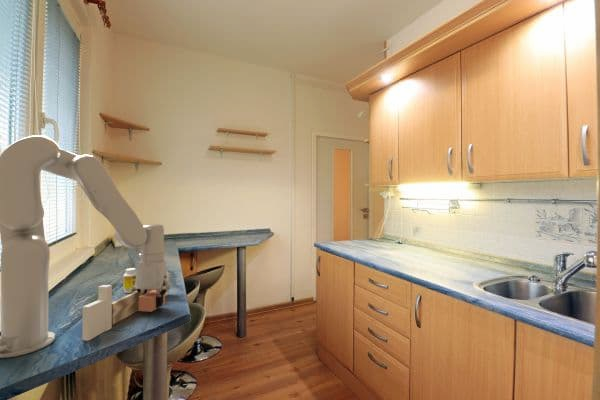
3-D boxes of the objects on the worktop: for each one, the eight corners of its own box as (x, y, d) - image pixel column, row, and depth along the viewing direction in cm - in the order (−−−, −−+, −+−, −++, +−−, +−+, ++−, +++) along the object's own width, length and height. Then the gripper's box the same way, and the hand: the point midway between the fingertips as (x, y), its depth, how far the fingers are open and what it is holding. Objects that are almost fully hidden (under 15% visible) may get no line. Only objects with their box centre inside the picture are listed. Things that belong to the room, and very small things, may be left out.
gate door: (110, 326, 90) (110, 305, 90) (106, 326, 90) (106, 305, 90) (155, 300, 113) (156, 283, 113) (153, 300, 113) (153, 283, 113)
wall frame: (89, 340, 81) (90, 293, 81) (80, 340, 82) (81, 293, 82) (169, 294, 121) (169, 262, 121) (163, 294, 121) (163, 262, 121)
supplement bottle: (133, 293, 122) (133, 270, 122) (120, 293, 121) (120, 270, 121) (140, 289, 127) (140, 267, 127) (127, 289, 127) (127, 267, 127)
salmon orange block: (151, 311, 98) (151, 297, 98) (138, 310, 99) (138, 297, 99) (165, 303, 106) (165, 290, 106) (153, 302, 107) (153, 289, 107)
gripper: (124, 258, 100) (123, 308, 100) (167, 260, 98) (167, 311, 98) (138, 254, 107) (138, 301, 107) (179, 256, 105) (179, 303, 105)
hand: (152, 305), depth 103 cm, fingers closed on salmon orange block, 5 cm apart
